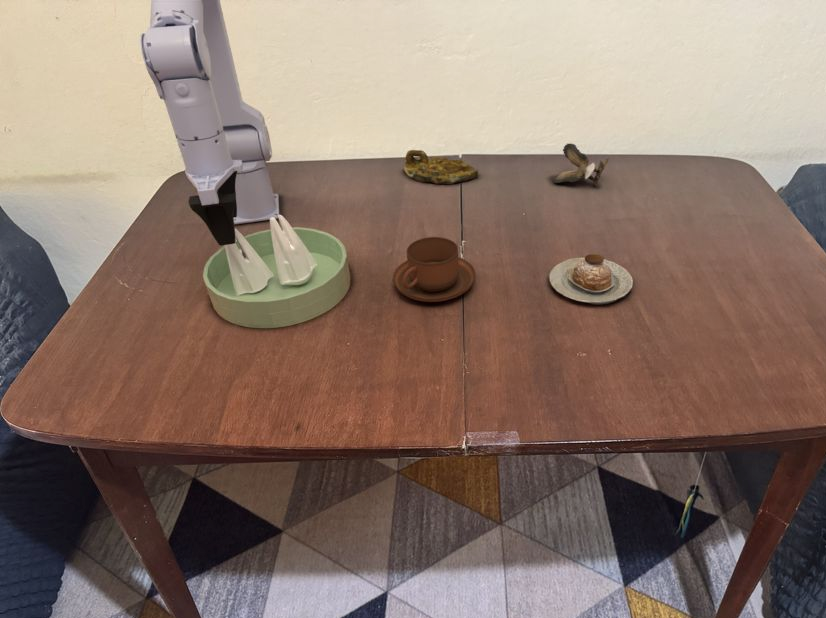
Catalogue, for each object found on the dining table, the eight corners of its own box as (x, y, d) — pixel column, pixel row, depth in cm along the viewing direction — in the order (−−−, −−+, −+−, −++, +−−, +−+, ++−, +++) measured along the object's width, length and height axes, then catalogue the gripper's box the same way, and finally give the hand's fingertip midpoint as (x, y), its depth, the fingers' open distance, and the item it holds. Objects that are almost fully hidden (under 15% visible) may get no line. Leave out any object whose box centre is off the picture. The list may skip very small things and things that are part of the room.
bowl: (216, 262, 101) (208, 237, 98) (343, 244, 105) (339, 219, 102) (207, 339, 86) (197, 312, 83) (357, 315, 89) (353, 288, 87)
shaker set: (319, 272, 97) (306, 206, 90) (318, 288, 94) (304, 220, 87) (238, 281, 96) (218, 214, 89) (235, 296, 93) (214, 229, 86)
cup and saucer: (458, 316, 89) (456, 279, 85) (380, 300, 92) (375, 264, 88) (486, 271, 97) (486, 236, 93) (414, 259, 101) (411, 223, 97)
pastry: (585, 318, 87) (588, 290, 84) (532, 278, 95) (533, 252, 92) (649, 291, 92) (654, 263, 89) (594, 255, 100) (597, 229, 97)
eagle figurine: (607, 169, 122) (563, 154, 124) (611, 147, 115) (564, 131, 117) (591, 202, 120) (547, 186, 122) (594, 182, 113) (547, 166, 115)
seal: (482, 172, 127) (410, 166, 130) (483, 148, 125) (409, 142, 127) (473, 187, 120) (396, 181, 122) (473, 162, 117) (395, 156, 120)
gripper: (230, 150, 74) (258, 251, 83) (234, 109, 85) (258, 202, 94) (167, 157, 73) (201, 259, 82) (179, 115, 84) (208, 209, 93)
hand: (228, 229), depth 88 cm, fingers open, 7 cm apart
